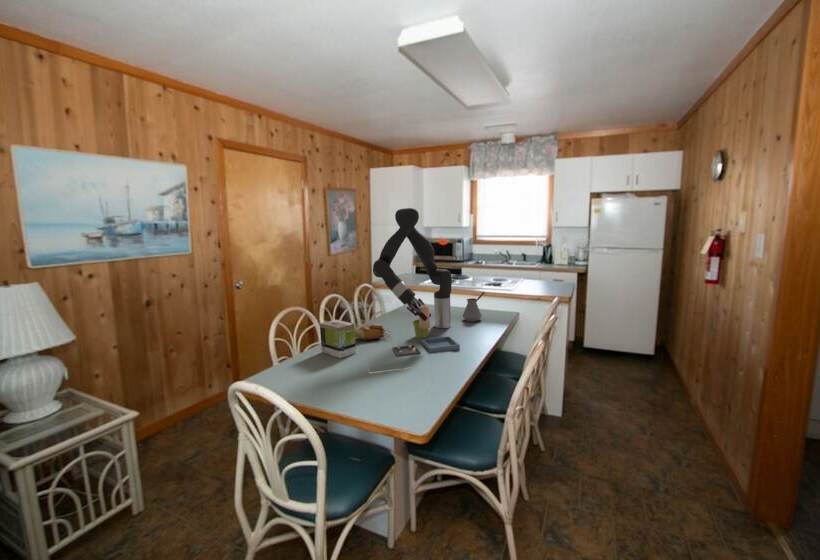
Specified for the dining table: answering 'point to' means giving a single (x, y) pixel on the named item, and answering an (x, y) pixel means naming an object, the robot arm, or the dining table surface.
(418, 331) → the plant pot
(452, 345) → the shallow square tray
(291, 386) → the dining table surface
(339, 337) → the tea box
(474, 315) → the coffee pot
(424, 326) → the tan rounded pillar
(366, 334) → the nautilus
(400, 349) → the parts tray
